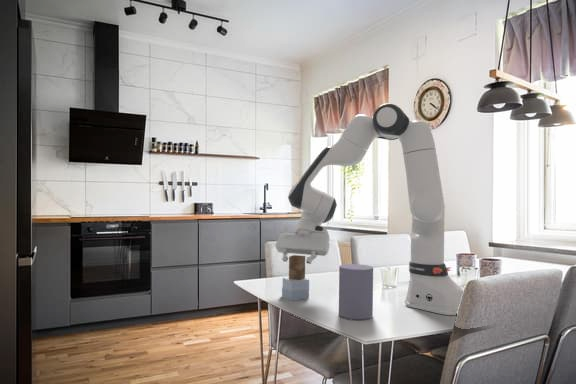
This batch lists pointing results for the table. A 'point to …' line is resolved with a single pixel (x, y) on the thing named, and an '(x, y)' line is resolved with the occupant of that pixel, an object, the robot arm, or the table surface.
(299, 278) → the walnut block
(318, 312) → the table surface
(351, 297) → the container
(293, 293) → the tower base
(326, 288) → the table surface
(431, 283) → the robot arm
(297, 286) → the tower top
